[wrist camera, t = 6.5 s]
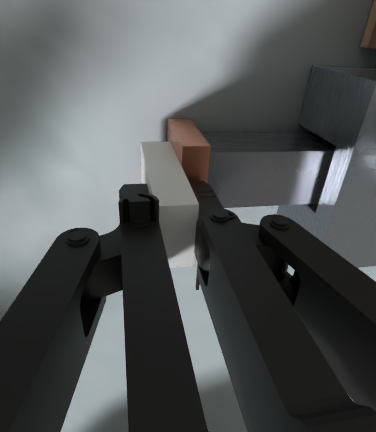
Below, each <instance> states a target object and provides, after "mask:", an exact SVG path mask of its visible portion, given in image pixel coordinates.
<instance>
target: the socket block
mask: <svg viewBox="0 0 376 432" xmlns="http://www.w3.org/2000/svg"><path fill="white" fill-rule="evenodd" d="M299 125H301V126H303V127H304V128H306V129H308V130H310V131H311V132H313V133H315V134H316V135H318V136H320V137H322V138H323V139H325V140H327V141H328V142H330V143H332V144H334V145H335V146H336V149H335V152H334V155H333V159H332V162H331V165H330V168H329V172H328V175H327V178H326V181H325V184H324V188H323V191H322V194H321V197H320V200H319V203H317V204H296V205H279V208H278V212H277V215H283V216H285V217H288V218H290V219H292V220H294V221H295V222H296V223H298V224H299V225H300V226H302V227H303V228H304V229H306V230H307V231H308V232H310V233H311V234H312V235H314V236H315V237H316V238H318V239H319V240H320V241H322V242H323V243H324V244H326V245H327V246H328V247H330V248H331V249H332V250H334V251H335V252H337V253H338V254H339V255H341V256H342V257H343V258H345V259H346V260H347V261H349V262H350V263H351V264H353V265H354V266H355V267H357V268H358V267H368V266H376V68H355V67H333V66H312V69H311V74H310V78H309V82H308V86H307V90H306V95H305V99H304V103H303V107H302V111H301V115H300V120H299Z"/></svg>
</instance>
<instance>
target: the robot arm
mask: <svg viewBox="0 0 376 432" xmlns="http://www.w3.org/2000/svg"><path fill="white" fill-rule="evenodd" d="M141 170H142V184H125V185H123V186H122V187H121V189H120V190H119V197H120V200H119V216H120V225H119V226H118V227H117V228H116V229H115V230H114V231H112V232H110V233H107V234H104V235H101V236H99V235H98V233H97V232H96V231H94V230H92V229H89V228H74V229H70V230H67V231H65V232H63V233H61V234H60V235H59V236H58V237H57V238H56V240H55V241H54V243H53V244H52V246H51V247H50V249H49V250H48V251H47V253H46V254H45V256H44V257H43V259H42V260H41V262H40V263H39V265H38V266H37V268H36V269H35V271H34V272H33V274H32V275H31V277H30V278H29V280H28V281H27V283H26V284H25V286H24V287H23V289H22V290H21V292H20V293H19V294H18V296H17V297H16V299H15V300H14V302H13V303H12V305H11V306H10V308H9V309H8V311H7V312H6V314H5V315H4V317H3V318H2V320H1V321H0V432H61V429H62V426H63V423H64V420H65V417H66V414H67V411H68V408H69V406H70V403H71V400H72V397H73V394H74V391H75V388H76V385H77V383H78V380H79V377H80V374H81V371H82V368H83V365H84V362H85V359H86V357H87V354H88V351H89V348H90V345H91V342H92V339H93V336H94V334H95V331H96V328H97V325H98V322H99V319H100V316H101V313H102V311H103V308H104V305H105V302H106V296H107V295H110V294H113V293H115V292H118V291H121V290H123V306H124V330H125V354H126V378H127V402H128V426H129V432H208V429H207V426H206V422H205V418H204V414H203V409H202V405H201V401H200V396H199V392H198V388H197V383H196V379H195V375H194V371H193V366H192V362H191V358H190V353H189V349H188V345H187V340H186V336H185V332H184V327H183V323H182V319H181V314H180V310H179V306H178V301H177V297H176V293H175V288H174V284H173V280H172V275H171V271H170V268H177V267H188V266H194V262H195V256H196V259H197V262H198V265H197V277H196V290H199V285H201V288H202V291H203V294H204V297H205V301H206V304H207V307H208V310H209V313H210V316H211V319H212V322H213V325H214V328H215V332H216V335H217V338H218V341H219V344H220V347H221V350H222V353H223V356H224V359H225V363H226V366H227V369H228V372H229V375H230V378H231V381H232V384H233V387H234V390H235V394H236V397H237V400H238V403H239V406H240V409H241V412H242V415H243V418H244V421H245V425H246V428H247V431H248V432H376V282H375V281H374V280H373V279H371V278H370V277H369V276H367V275H366V274H365V273H363V272H362V271H361V270H359V269H358V268H357V267H355V266H354V265H353V264H351V263H350V262H349V261H347V260H346V259H345V258H343V257H342V256H341V255H339V254H338V253H337V252H335V251H334V250H332V249H331V248H330V247H328V246H327V245H326V244H324V243H323V242H322V241H320V240H319V239H318V238H316V237H315V236H314V235H312V234H311V233H310V232H308V231H307V230H306V229H304V228H303V227H302V226H300V225H299V224H298V223H296V222H295V221H294V220H292V219H290V218H288V217H285V216H283V215H276V214H274V215H267V216H264V217H263V218H262V219H261V221H260V225H253V224H246V223H241V221H240V220H239V218H238V216H237V215H236V214H235V213H233V212H231V211H229V210H226V209H224V208H223V206H222V204H221V202H220V201H219V199H218V197H217V195H216V194H215V192H214V190H213V189H212V187H211V185H209V184H208V183H206V182H205V181H188V179H187V177H186V175H185V172H184V170H183V168H182V166H181V164H180V162H179V159H178V157H177V155H176V153H175V151H174V149H173V146H172V144H171V142H170V141H168V142H141ZM288 265H290V266H291V267H292V268H293V269H294V270H295V272H294V275H293V276H292V275H290V274H289V273H288V272H287V269H288ZM346 392H347V393H346ZM348 395H349V396H350V397H351V398H352V399H353V400H354V402H353V401H352V400H351V398H350V397H349V396H348Z"/></svg>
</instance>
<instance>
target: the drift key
mask: <svg viewBox="0 0 376 432" xmlns="http://www.w3.org/2000/svg"><path fill="white" fill-rule="evenodd" d="M168 141H170V142H171V144H172V146H173V149H174V151H175V153H176V155H177V157H178V159H179V162H180V164H181V166H182V168H183V170H184V172H185V175H186V177H187V179H188V181H205V182H206V183H208V184H209V185H211V187H212V189H213V190H214V192H215V194H216V195H217V197H218V199H219V201H220V202H221V204H222V206H223V208H233V207H254V206H275V205H296V204H317V203H319V200H320V197H321V194H322V191H323V188H324V184H325V181H326V178H327V175H328V172H329V168H330V165H331V162H332V159H333V155H334V152H335V149H334V148H332V147H331V146H329V145H327V144H326V143H324V142H322V141H321V140H319V139H317V138H316V137H314V136H312V135H311V134H309V133H201V132H200V131H199V130H198V128H197V127H196V126H195V125H194V123H193V122H192V121H191V119H168V134H167V142H168Z"/></svg>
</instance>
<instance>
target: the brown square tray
mask: <svg viewBox="0 0 376 432" xmlns="http://www.w3.org/2000/svg"><path fill="white" fill-rule="evenodd" d="M360 47H365V48H373V49H376V0H374V2H373V5H372V8H371V12H370V15H369V18H368V22H367V25H366V28H365V32H364V35H363V38H362V42H361V45H360Z"/></svg>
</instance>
